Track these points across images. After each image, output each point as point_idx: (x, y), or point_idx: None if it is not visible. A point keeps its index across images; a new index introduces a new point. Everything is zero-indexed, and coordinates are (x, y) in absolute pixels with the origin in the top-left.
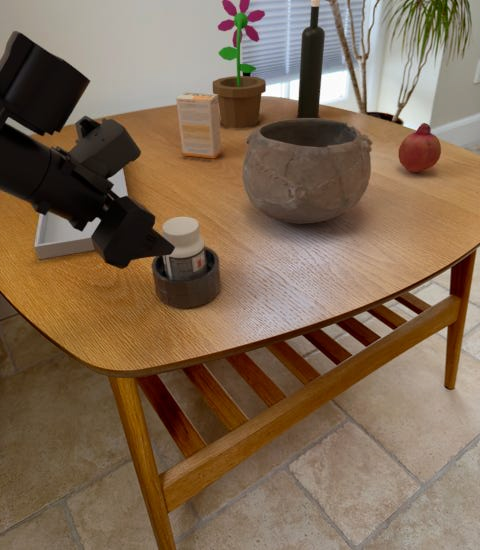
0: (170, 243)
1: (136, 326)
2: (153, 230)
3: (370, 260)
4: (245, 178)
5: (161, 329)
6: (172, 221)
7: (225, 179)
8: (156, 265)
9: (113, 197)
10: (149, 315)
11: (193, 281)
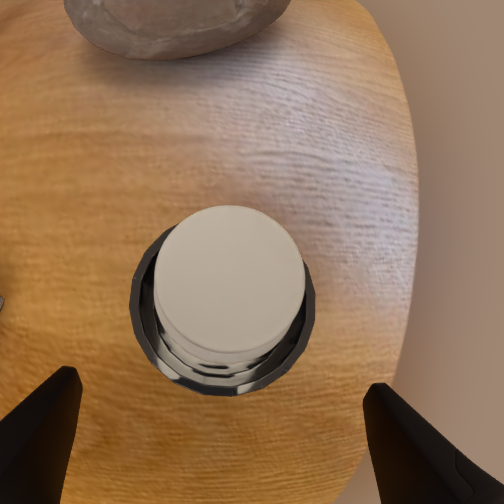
0: (406, 403)
1: (259, 456)
2: (501, 484)
3: (343, 62)
4: (103, 18)
5: (298, 421)
6: (180, 282)
7: (9, 65)
8: (169, 364)
9: (6, 492)
10: (245, 423)
11: (310, 330)
